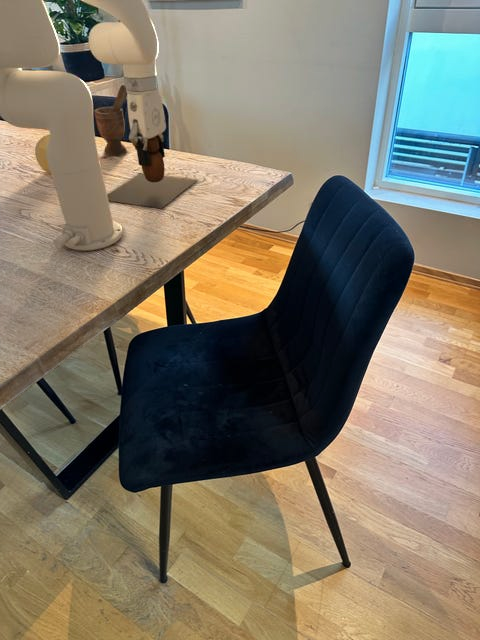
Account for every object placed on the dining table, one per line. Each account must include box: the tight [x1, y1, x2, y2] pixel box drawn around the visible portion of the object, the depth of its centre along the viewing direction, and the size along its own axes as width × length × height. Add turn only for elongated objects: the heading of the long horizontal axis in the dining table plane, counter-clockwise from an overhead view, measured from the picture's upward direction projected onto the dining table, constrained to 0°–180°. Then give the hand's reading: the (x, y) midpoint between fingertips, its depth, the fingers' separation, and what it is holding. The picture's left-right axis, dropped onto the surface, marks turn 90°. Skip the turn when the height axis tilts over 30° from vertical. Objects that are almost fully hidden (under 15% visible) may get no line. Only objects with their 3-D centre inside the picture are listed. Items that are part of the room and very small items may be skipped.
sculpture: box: [34, 133, 51, 175], centre depth 124 cm, size 11×12×11 cm
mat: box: [107, 173, 197, 210], centre depth 114 cm, size 20×18×1 cm
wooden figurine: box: [140, 137, 165, 182], centre depth 111 cm, size 7×6×15 cm
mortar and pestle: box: [93, 84, 128, 157], centre depth 135 cm, size 12×9×20 cm
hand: (152, 160), depth 112 cm, fingers closed on wooden figurine, 6 cm apart
